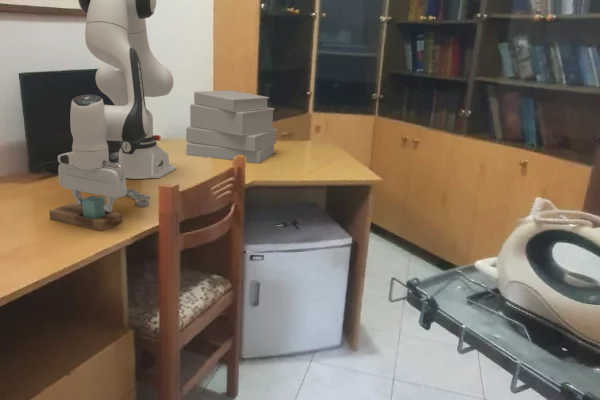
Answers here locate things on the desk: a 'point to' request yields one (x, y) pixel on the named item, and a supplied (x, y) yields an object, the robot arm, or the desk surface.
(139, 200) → the bracket
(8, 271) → the desk surface
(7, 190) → the desk surface
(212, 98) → the book stack
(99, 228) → the brown frame
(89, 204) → the teal square prism
